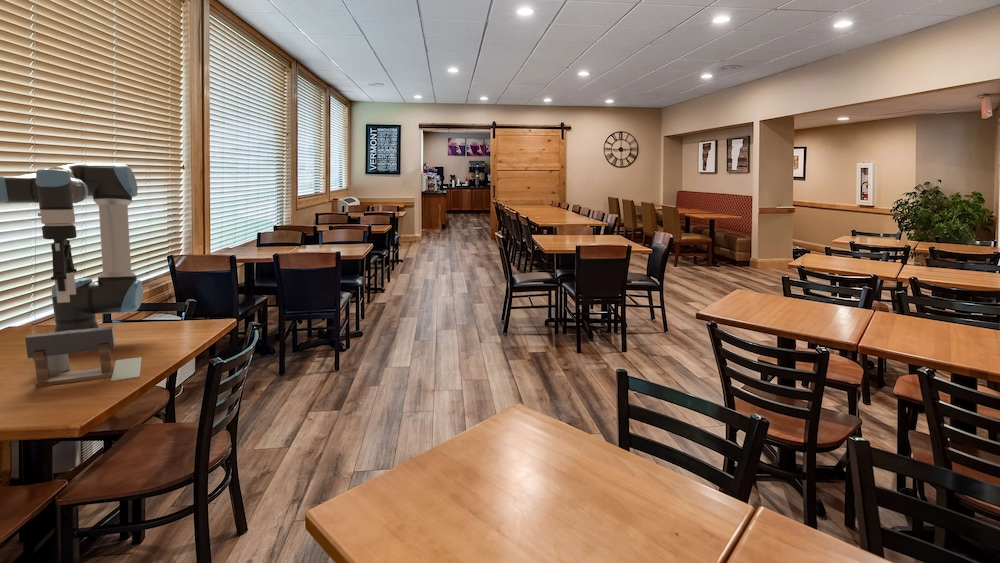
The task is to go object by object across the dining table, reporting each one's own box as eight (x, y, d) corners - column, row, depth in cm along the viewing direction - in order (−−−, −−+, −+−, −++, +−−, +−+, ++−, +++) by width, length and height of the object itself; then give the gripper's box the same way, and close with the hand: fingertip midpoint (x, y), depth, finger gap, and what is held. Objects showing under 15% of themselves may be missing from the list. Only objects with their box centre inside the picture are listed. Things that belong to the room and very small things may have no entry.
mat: (116, 361, 178) (116, 360, 178) (141, 358, 182) (141, 357, 182) (111, 381, 160) (110, 380, 160) (139, 377, 163) (139, 376, 163)
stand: (40, 378, 161) (36, 346, 160) (113, 369, 170) (110, 338, 169) (35, 386, 155) (31, 353, 153) (111, 376, 164) (108, 344, 162)
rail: (30, 354, 158) (28, 334, 157) (115, 345, 168) (113, 326, 167) (27, 358, 154) (25, 337, 153) (114, 348, 165) (112, 329, 164)
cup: (44, 376, 163) (40, 347, 162) (32, 370, 169) (28, 342, 167) (73, 370, 169) (70, 342, 168) (61, 364, 175) (57, 337, 173)
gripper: (49, 222, 164) (57, 292, 167) (33, 227, 143) (43, 307, 146) (80, 222, 168) (88, 290, 171) (69, 226, 147) (78, 304, 150)
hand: (67, 298), depth 159 cm, fingers open, 13 cm apart
